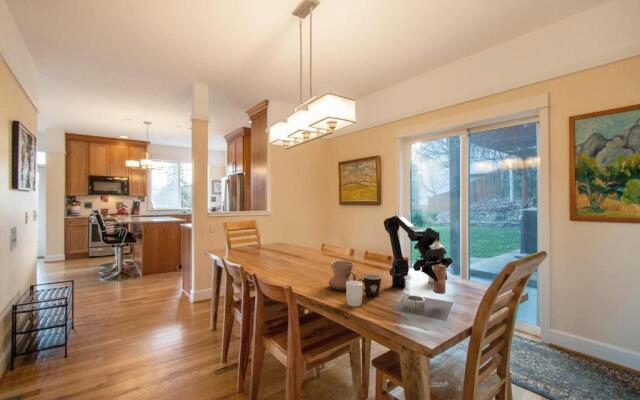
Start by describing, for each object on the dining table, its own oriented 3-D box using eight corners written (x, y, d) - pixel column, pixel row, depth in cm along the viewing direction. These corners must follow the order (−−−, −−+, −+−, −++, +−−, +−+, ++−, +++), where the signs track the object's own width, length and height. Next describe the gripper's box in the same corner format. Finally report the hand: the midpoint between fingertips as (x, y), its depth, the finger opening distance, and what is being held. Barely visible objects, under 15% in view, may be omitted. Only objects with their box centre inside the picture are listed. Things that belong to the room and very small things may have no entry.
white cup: (344, 301, 141) (344, 280, 141) (360, 300, 142) (360, 280, 142) (347, 307, 133) (347, 285, 133) (364, 306, 134) (364, 285, 134)
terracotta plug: (432, 292, 132) (432, 266, 132) (434, 289, 137) (434, 264, 137) (444, 294, 130) (444, 267, 130) (446, 291, 134) (446, 265, 134)
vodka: (448, 283, 171) (449, 232, 171) (436, 285, 168) (436, 233, 167) (436, 279, 180) (437, 230, 179) (424, 281, 176) (425, 231, 176)
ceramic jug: (321, 287, 163) (322, 262, 163) (340, 282, 173) (340, 258, 172) (345, 296, 150) (345, 268, 149) (363, 290, 159) (364, 264, 159)
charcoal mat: (391, 311, 128) (391, 309, 128) (406, 296, 149) (406, 294, 149) (446, 323, 117) (446, 320, 117) (453, 304, 138) (453, 302, 138)
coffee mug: (382, 295, 150) (382, 275, 150) (378, 300, 142) (378, 280, 142) (360, 292, 155) (360, 273, 155) (355, 297, 147) (355, 277, 147)
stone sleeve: (402, 308, 130) (402, 299, 130) (407, 302, 137) (407, 294, 137) (422, 312, 125) (422, 303, 125) (426, 306, 133) (426, 297, 133)
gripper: (417, 242, 134) (433, 272, 124) (450, 240, 140) (468, 269, 129) (406, 256, 142) (421, 285, 131) (438, 253, 147) (454, 282, 137)
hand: (441, 280), depth 132 cm, fingers closed on terracotta plug, 5 cm apart
